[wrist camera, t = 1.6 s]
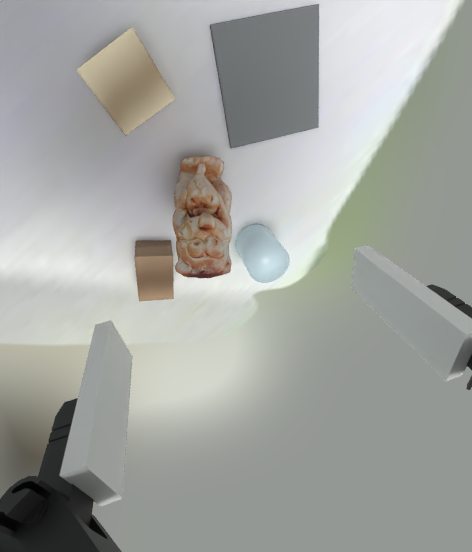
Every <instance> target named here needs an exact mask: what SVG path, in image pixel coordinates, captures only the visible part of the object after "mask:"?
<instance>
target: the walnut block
mask: <svg viewBox="0 0 472 552" xmlns="http://www.w3.org/2000/svg"><path fill="white" fill-rule="evenodd" d="M135 266H136V276H137V286H138V296H139V301H150V300H164V299H174V296H173V254H172V247H171V240H164V241H136V246H135Z"/></svg>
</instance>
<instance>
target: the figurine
mask: <svg viewBox="0 0 472 552" xmlns="http://www.w3.org/2000/svg"><path fill="white" fill-rule="evenodd" d="M223 169H224V162H223V161H221V159H220V158H217V157H212V156H199V157H186V158H184V159H183V160H182V161H181V168H180V174H179V182H178V183H177V185H176V187H175V191H174V195H175V196H174V199H175V208H176V209H175V212H174V215H173V227H174V231H175V234H176V238H177V241H176V250H177V255H178V262H177V264H176V266H175V270H176V271H177V272H178V273H180V274H182V275H183V276H186V277H197V278H212V277H215V276H219V275H223V274H227V273H229V272H230V268H231V260H230V257H229V243H230V240H231V233H232V222H231V217H230V214H229V213H230V207H231V197H232V196H231V192H230V190H229V188H228V186H227V185H226V184H225V183H224V182H223V181H222V180H221V174H222V172H223Z"/></svg>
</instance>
